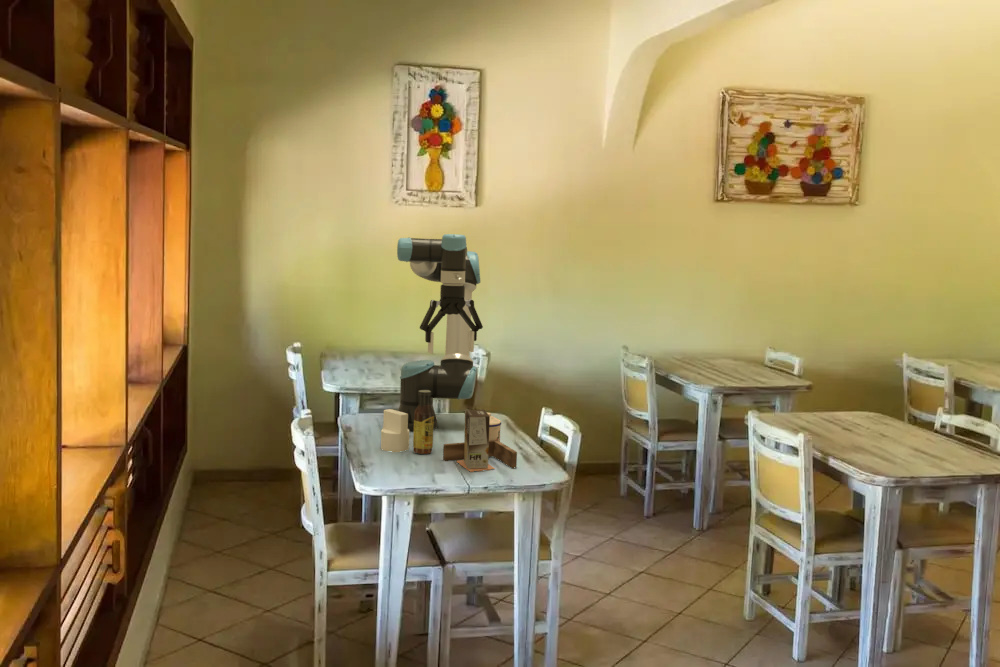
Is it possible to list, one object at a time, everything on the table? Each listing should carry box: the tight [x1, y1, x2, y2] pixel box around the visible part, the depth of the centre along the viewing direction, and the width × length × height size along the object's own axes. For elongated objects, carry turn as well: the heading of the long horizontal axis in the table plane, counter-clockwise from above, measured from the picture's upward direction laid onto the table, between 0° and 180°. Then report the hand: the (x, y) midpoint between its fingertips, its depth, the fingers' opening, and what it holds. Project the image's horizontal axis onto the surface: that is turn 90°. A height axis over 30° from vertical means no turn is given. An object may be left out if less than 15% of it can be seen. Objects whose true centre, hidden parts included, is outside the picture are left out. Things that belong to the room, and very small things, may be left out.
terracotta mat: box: [455, 459, 496, 473], centre depth 270 cm, size 11×8×1 cm
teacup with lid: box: [486, 412, 502, 442], centre depth 291 cm, size 12×9×12 cm
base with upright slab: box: [380, 408, 410, 453], centre depth 285 cm, size 9×9×12 cm
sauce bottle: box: [412, 390, 434, 455], centre depth 281 cm, size 6×6×20 cm
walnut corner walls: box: [442, 440, 518, 469], centre depth 271 cm, size 15×18×5 cm
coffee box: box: [463, 409, 490, 469], centre depth 268 cm, size 9×6×16 cm
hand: (450, 352), depth 277 cm, fingers open, 13 cm apart
